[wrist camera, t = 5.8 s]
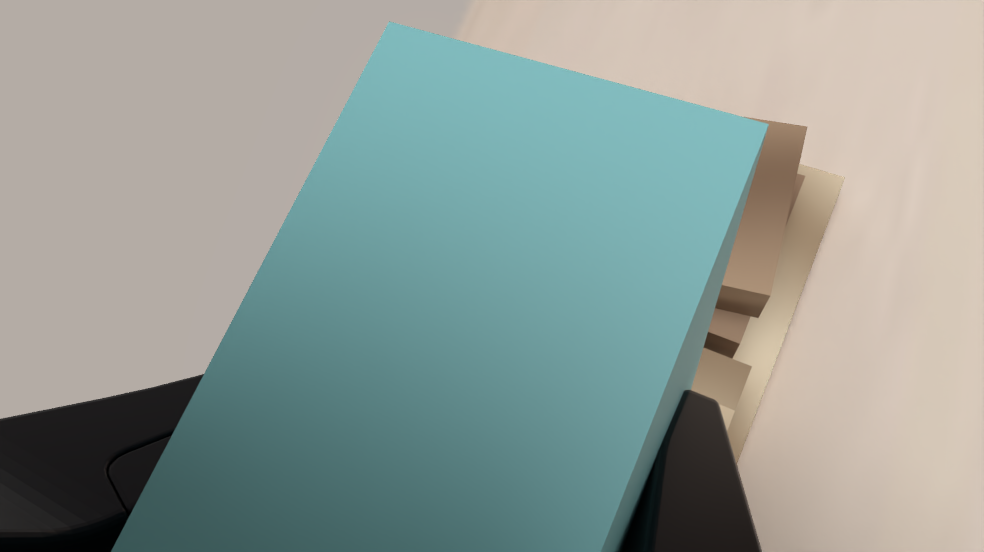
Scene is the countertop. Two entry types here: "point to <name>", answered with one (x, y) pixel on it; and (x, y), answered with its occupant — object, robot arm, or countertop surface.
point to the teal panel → (463, 318)
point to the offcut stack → (758, 237)
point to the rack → (769, 312)
